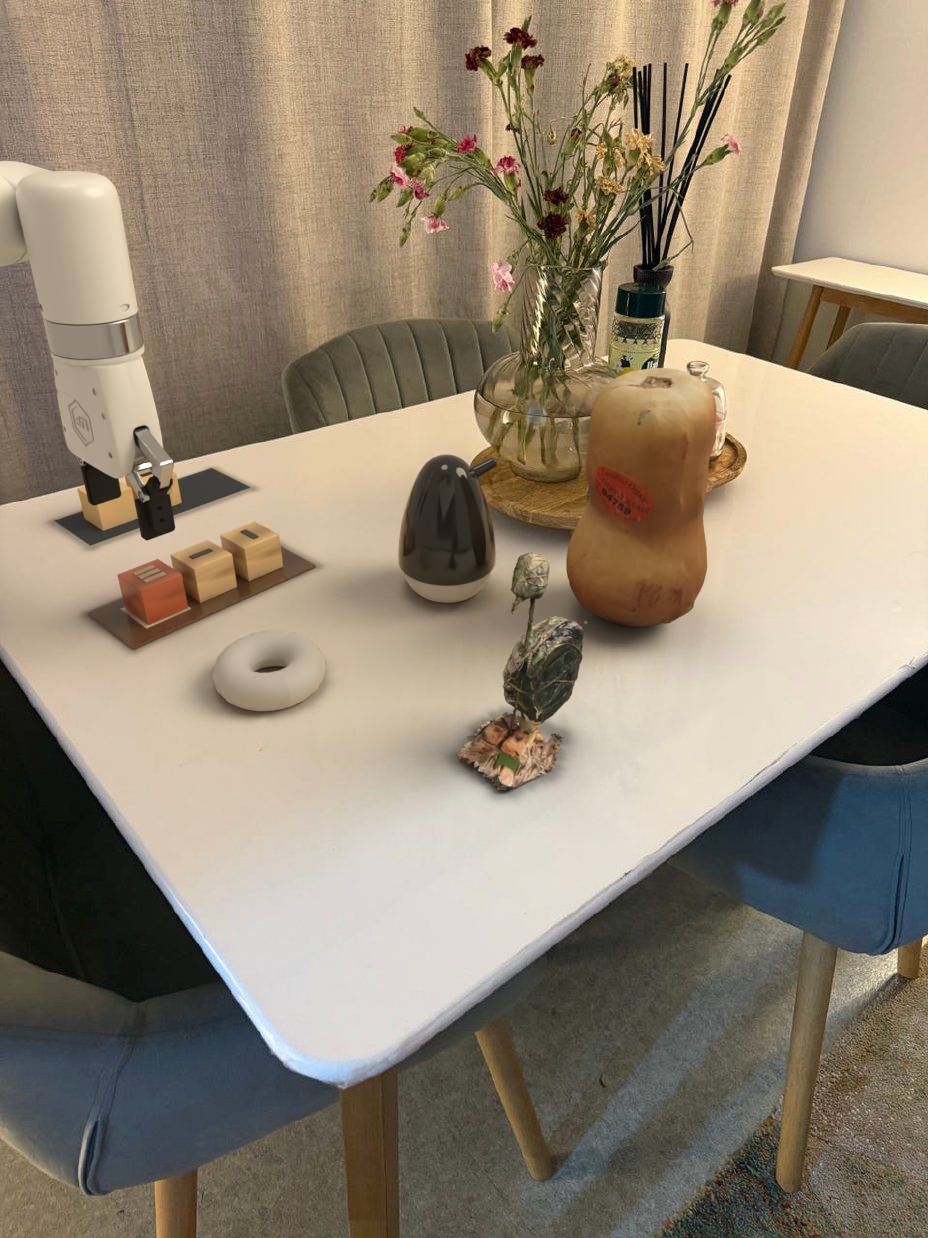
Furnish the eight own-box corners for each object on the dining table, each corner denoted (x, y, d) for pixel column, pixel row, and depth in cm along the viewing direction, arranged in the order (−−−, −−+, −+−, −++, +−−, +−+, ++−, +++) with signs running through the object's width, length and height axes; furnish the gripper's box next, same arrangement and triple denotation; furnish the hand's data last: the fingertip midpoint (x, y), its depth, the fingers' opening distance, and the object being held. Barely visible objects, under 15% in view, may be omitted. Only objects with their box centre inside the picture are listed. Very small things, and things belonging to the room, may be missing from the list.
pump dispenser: (511, 605, 92) (517, 469, 84) (415, 623, 89) (412, 484, 81) (476, 559, 100) (478, 431, 92) (388, 575, 97) (381, 444, 89)
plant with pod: (605, 749, 73) (632, 534, 62) (495, 805, 68) (504, 580, 57) (543, 699, 79) (558, 494, 68) (437, 747, 73) (434, 532, 63)
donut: (279, 641, 86) (192, 687, 80) (276, 611, 85) (186, 655, 78) (349, 682, 81) (262, 735, 75) (348, 651, 79) (258, 702, 73)
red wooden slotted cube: (125, 608, 90) (116, 573, 87) (164, 592, 92) (157, 557, 90) (148, 625, 87) (140, 589, 85) (188, 608, 90) (181, 572, 88)
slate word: (55, 524, 106) (45, 488, 104) (212, 471, 120) (207, 438, 117) (91, 549, 101) (82, 512, 99) (251, 491, 115) (247, 457, 112)
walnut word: (89, 616, 90) (78, 576, 87) (267, 542, 103) (262, 506, 101) (135, 652, 85) (125, 610, 82) (316, 569, 98) (312, 531, 95)
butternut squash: (536, 622, 89) (551, 377, 76) (602, 570, 98) (627, 343, 85) (660, 672, 82) (702, 413, 69) (720, 611, 91) (767, 371, 78)
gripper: (6, 322, 77) (50, 500, 87) (105, 369, 68) (143, 563, 77) (87, 307, 82) (121, 478, 92) (191, 349, 72) (217, 535, 82)
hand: (131, 517), depth 84 cm, fingers open, 9 cm apart
